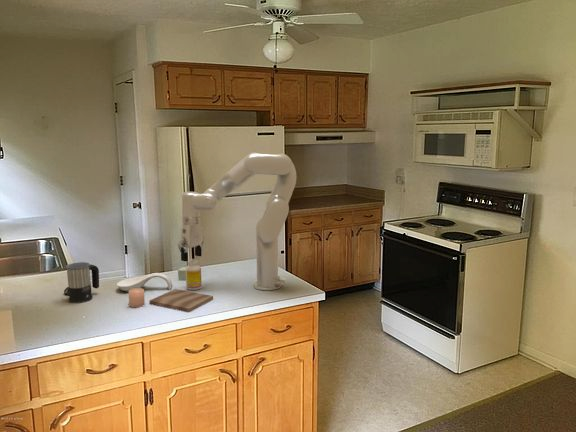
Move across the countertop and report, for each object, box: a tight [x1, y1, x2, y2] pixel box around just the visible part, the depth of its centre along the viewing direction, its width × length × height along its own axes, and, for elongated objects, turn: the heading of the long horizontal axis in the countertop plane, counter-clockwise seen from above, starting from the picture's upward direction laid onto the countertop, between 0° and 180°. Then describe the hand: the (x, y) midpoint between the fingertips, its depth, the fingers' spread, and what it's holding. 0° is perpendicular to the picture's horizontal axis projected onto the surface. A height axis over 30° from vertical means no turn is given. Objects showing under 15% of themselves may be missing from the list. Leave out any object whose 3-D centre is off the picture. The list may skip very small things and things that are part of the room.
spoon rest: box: [116, 272, 173, 293], centre depth 215 cm, size 24×12×7 cm, turn 95°
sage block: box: [177, 266, 187, 282], centre depth 229 cm, size 5×5×5 cm
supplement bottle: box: [185, 258, 202, 291], centre depth 216 cm, size 7×7×13 cm
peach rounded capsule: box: [128, 287, 145, 308], centre depth 196 cm, size 6×6×6 cm
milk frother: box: [63, 261, 100, 303], centre depth 205 cm, size 14×16×15 cm
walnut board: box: [149, 288, 214, 313], centre depth 200 cm, size 20×16×2 cm
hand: (191, 258), depth 214 cm, fingers open, 9 cm apart
